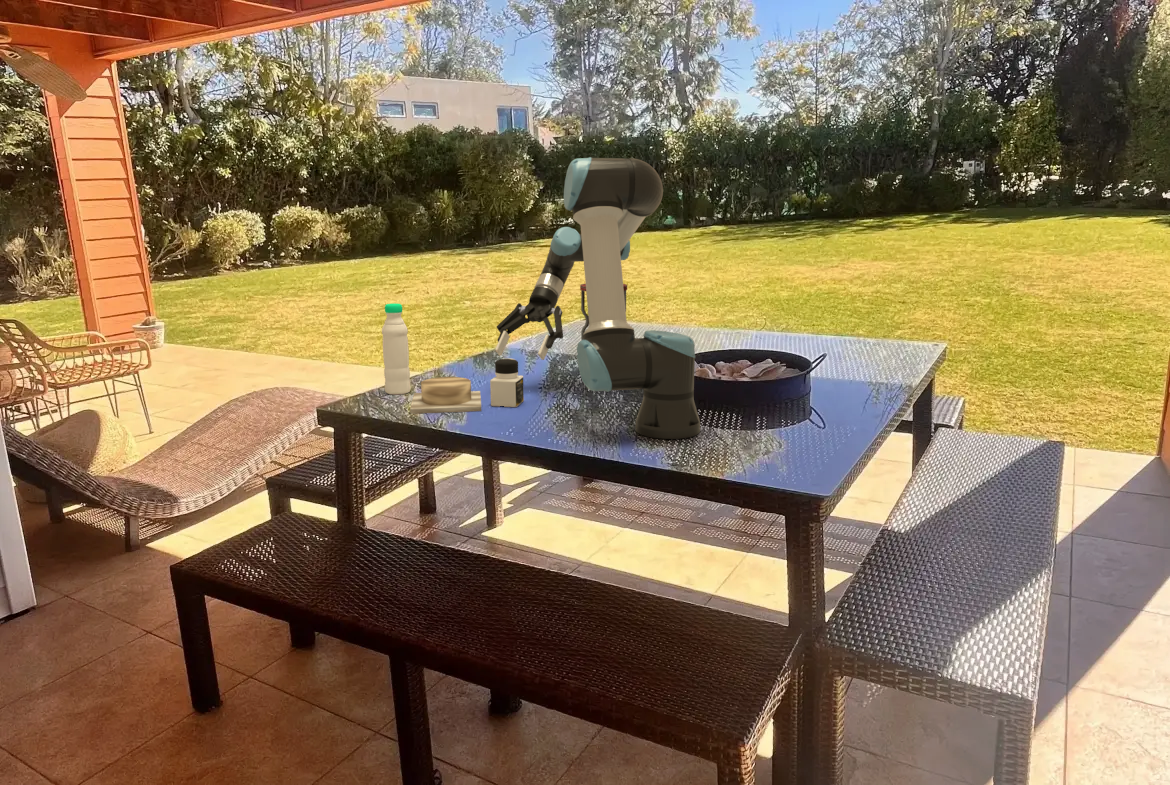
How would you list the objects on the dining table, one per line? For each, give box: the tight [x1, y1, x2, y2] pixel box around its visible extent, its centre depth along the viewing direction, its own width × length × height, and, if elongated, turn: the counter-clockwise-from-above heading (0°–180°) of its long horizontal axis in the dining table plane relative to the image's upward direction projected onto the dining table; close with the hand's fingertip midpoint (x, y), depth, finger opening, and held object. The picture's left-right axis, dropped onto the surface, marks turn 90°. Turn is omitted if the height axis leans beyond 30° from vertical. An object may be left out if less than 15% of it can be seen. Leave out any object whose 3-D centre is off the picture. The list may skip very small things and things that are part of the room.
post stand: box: [409, 376, 482, 415], centre depth 219 cm, size 18×18×6 cm
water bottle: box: [381, 302, 412, 396], centre depth 231 cm, size 7×7×25 cm
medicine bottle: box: [489, 357, 525, 408], centre depth 219 cm, size 7×7×12 cm
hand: (519, 354), depth 224 cm, fingers open, 13 cm apart
